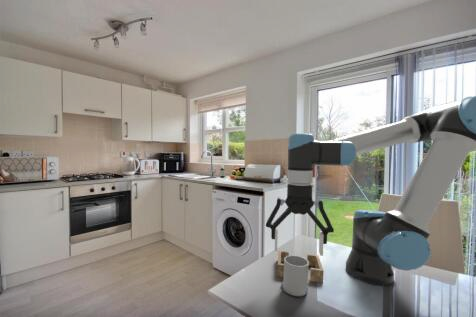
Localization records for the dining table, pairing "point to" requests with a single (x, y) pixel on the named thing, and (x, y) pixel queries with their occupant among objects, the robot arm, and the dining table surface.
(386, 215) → the robot arm
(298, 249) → the dining table surface
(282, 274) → the wooden brackets
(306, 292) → the coaster
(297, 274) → the cup
